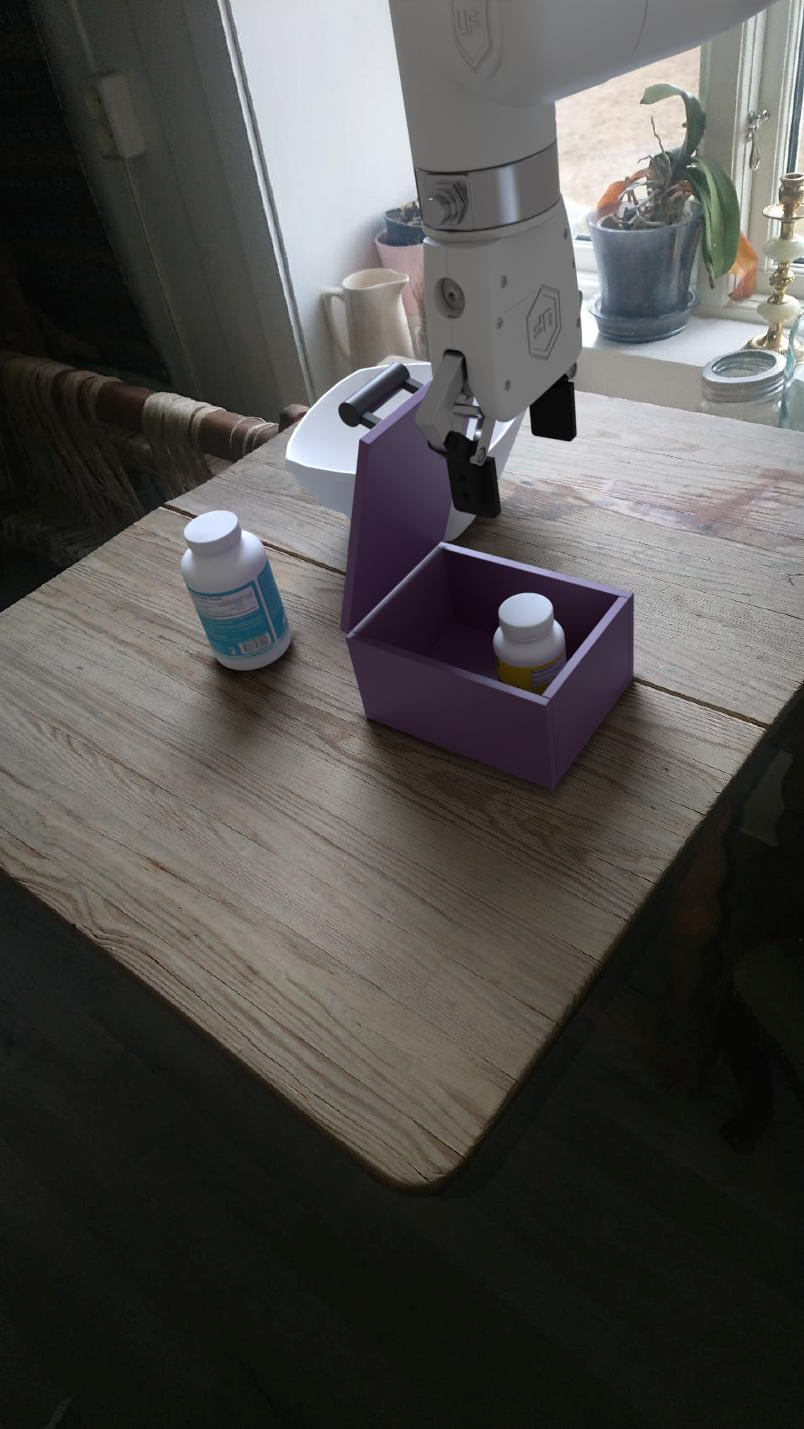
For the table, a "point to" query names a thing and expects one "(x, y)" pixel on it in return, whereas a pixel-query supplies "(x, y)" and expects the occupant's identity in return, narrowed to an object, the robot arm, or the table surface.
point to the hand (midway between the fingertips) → (517, 473)
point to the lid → (391, 493)
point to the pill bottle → (234, 592)
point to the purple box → (491, 662)
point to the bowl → (331, 446)
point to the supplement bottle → (528, 643)
